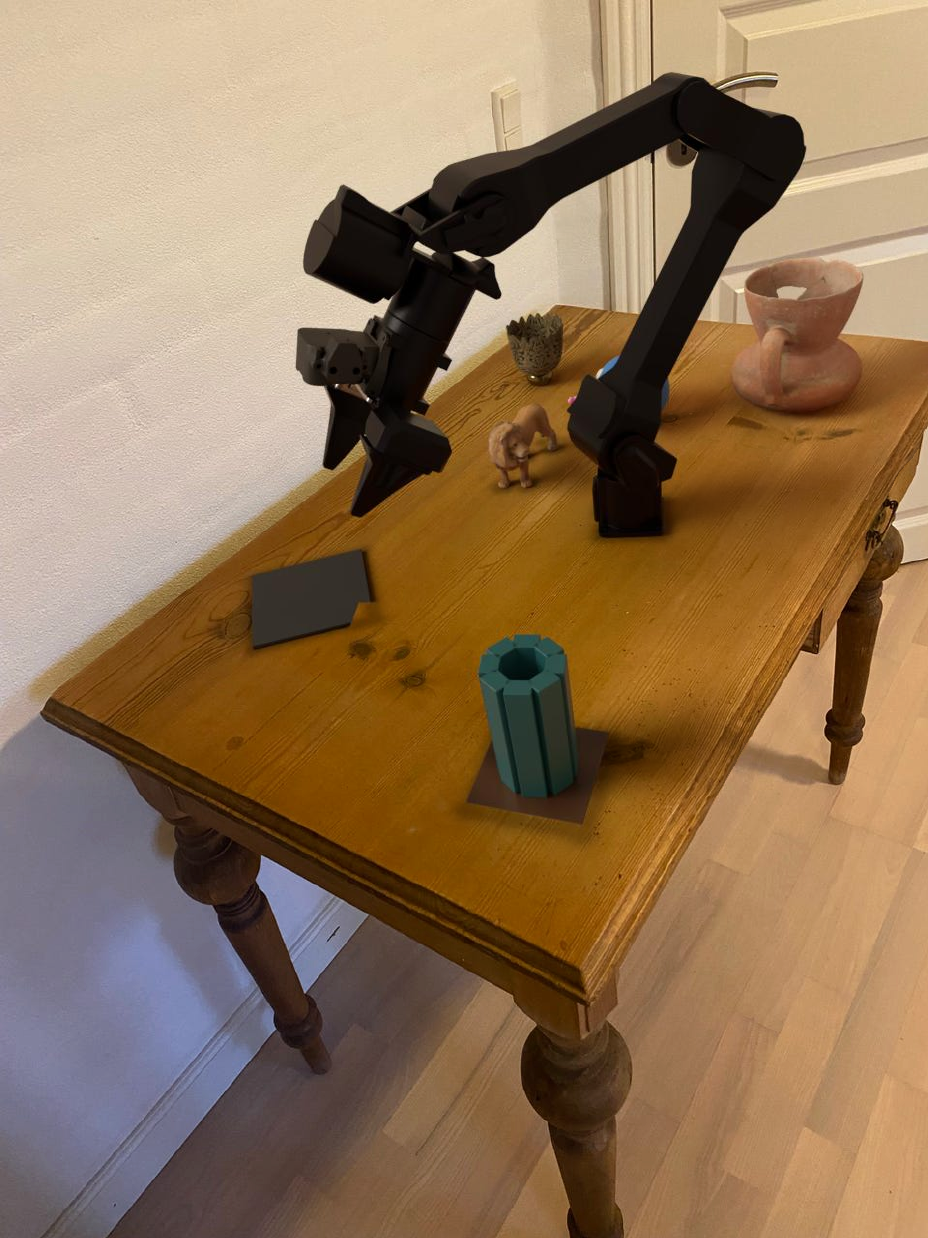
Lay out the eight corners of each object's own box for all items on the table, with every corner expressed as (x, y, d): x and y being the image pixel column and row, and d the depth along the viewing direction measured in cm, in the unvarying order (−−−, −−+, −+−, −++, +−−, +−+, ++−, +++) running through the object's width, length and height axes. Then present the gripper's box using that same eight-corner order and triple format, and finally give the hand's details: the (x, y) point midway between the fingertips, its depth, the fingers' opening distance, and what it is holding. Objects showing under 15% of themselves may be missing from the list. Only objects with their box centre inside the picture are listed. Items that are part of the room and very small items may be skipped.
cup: (570, 389, 116) (564, 331, 111) (514, 397, 117) (506, 339, 112) (566, 365, 122) (560, 308, 117) (512, 372, 123) (505, 316, 118)
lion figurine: (533, 507, 97) (524, 434, 91) (487, 505, 99) (475, 433, 93) (563, 438, 107) (556, 368, 102) (520, 437, 109) (511, 369, 103)
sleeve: (580, 737, 70) (569, 633, 63) (575, 799, 65) (561, 695, 58) (505, 736, 71) (486, 634, 64) (495, 796, 67) (472, 694, 60)
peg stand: (503, 723, 74) (493, 672, 70) (610, 740, 70) (606, 687, 67) (467, 810, 68) (453, 759, 64) (582, 833, 64) (576, 780, 60)
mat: (362, 551, 96) (361, 548, 96) (374, 619, 87) (373, 616, 87) (253, 577, 95) (252, 575, 95) (253, 649, 86) (252, 646, 86)
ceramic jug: (764, 356, 115) (771, 244, 106) (880, 373, 107) (898, 253, 98) (699, 421, 105) (701, 304, 96) (822, 445, 97) (836, 319, 88)
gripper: (302, 254, 75) (234, 419, 81) (364, 322, 61) (277, 516, 67) (413, 306, 81) (343, 456, 87) (493, 380, 67) (403, 553, 73)
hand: (340, 490), depth 78 cm, fingers open, 9 cm apart
